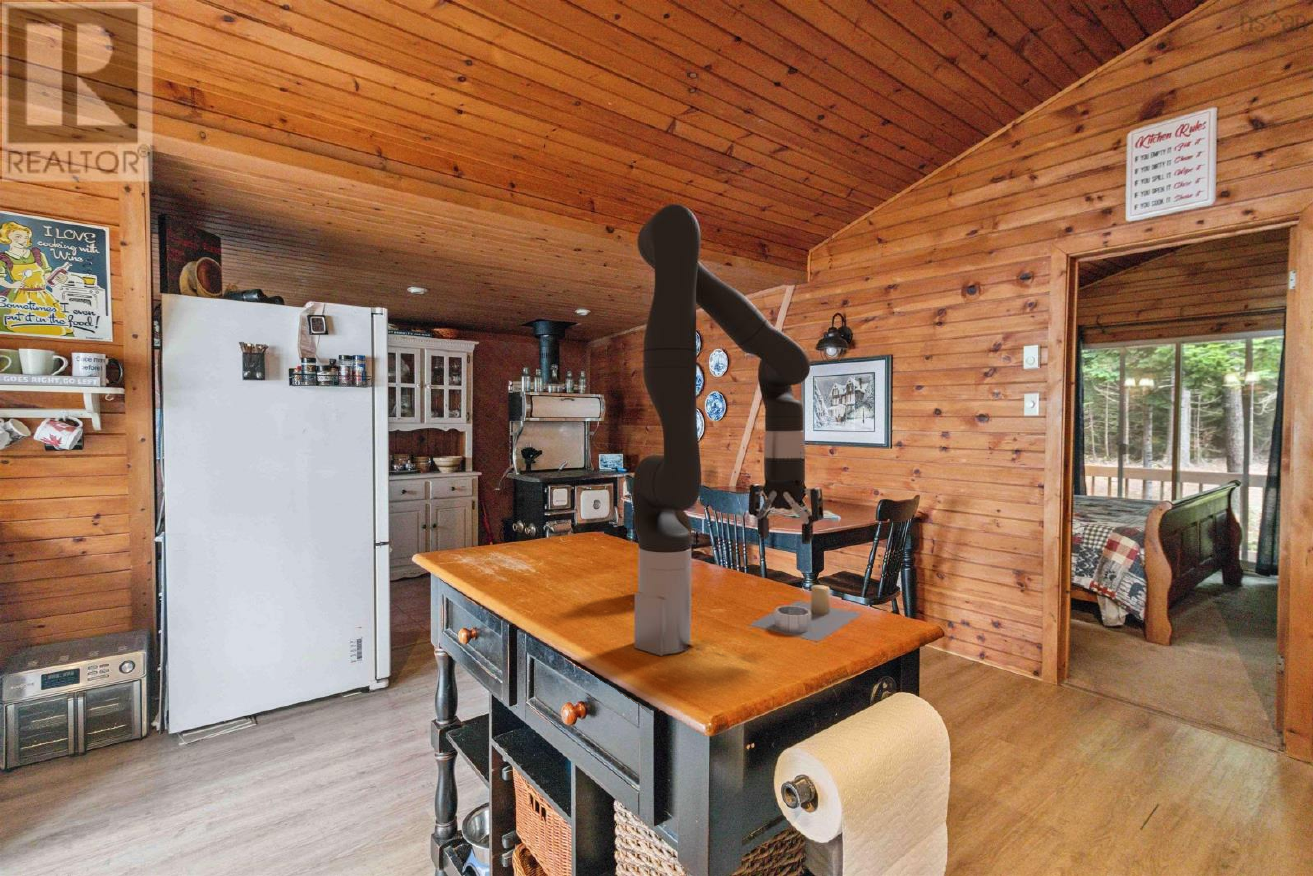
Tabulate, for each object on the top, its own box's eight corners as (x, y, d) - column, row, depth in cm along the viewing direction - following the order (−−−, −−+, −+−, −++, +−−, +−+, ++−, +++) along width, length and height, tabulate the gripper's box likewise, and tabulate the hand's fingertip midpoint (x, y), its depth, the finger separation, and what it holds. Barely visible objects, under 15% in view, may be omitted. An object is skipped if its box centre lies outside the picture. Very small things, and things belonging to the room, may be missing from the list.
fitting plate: (817, 647, 105) (817, 613, 105) (747, 630, 114) (748, 598, 114) (862, 618, 122) (862, 588, 121) (798, 605, 130) (798, 577, 130)
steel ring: (801, 635, 109) (801, 618, 109) (768, 627, 113) (768, 611, 113) (816, 626, 114) (817, 610, 114) (785, 618, 118) (785, 603, 118)
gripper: (741, 455, 115) (742, 540, 115) (811, 457, 106) (812, 549, 107) (760, 453, 121) (760, 533, 121) (828, 454, 112) (829, 541, 113)
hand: (785, 540), depth 114 cm, fingers open, 8 cm apart
